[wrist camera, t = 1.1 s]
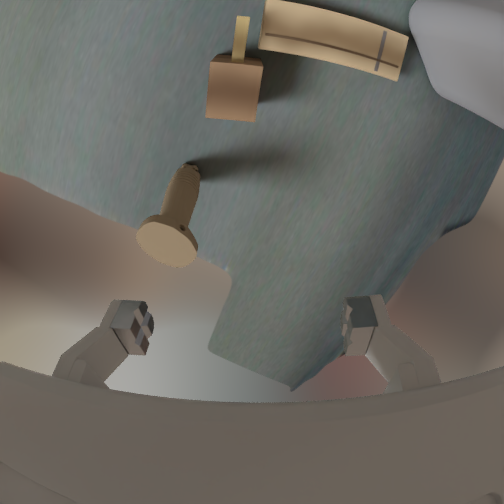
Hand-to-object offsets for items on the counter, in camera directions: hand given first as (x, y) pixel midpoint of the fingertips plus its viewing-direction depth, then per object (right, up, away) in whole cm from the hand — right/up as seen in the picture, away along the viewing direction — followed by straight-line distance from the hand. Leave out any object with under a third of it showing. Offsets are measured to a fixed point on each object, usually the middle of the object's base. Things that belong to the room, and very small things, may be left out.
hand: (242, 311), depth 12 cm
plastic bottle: (+28, +30, +13) cm, 43 cm away
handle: (-8, +13, +28) cm, 32 cm away
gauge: (-1, +24, +18) cm, 30 cm away
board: (+9, +27, +15) cm, 33 cm away
